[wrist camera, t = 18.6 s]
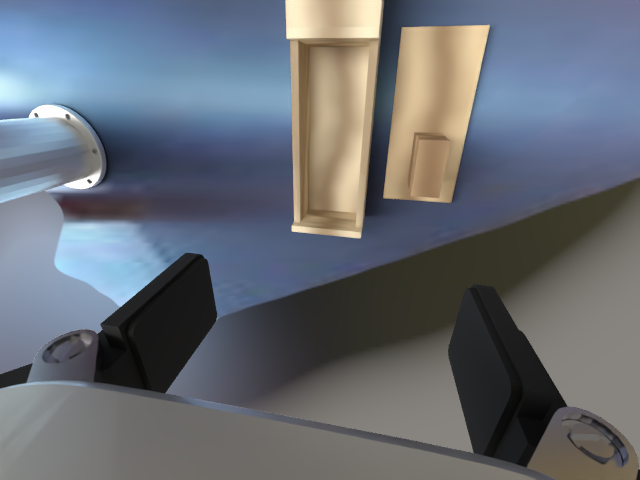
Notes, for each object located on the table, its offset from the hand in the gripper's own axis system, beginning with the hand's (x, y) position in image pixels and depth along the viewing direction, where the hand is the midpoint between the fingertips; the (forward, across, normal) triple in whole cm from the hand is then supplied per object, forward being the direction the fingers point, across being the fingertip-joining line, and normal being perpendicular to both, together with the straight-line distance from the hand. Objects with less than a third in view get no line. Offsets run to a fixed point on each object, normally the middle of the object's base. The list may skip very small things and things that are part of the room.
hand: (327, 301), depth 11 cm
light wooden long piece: (+31, +4, -5) cm, 32 cm away
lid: (+32, -7, -4) cm, 33 cm away
